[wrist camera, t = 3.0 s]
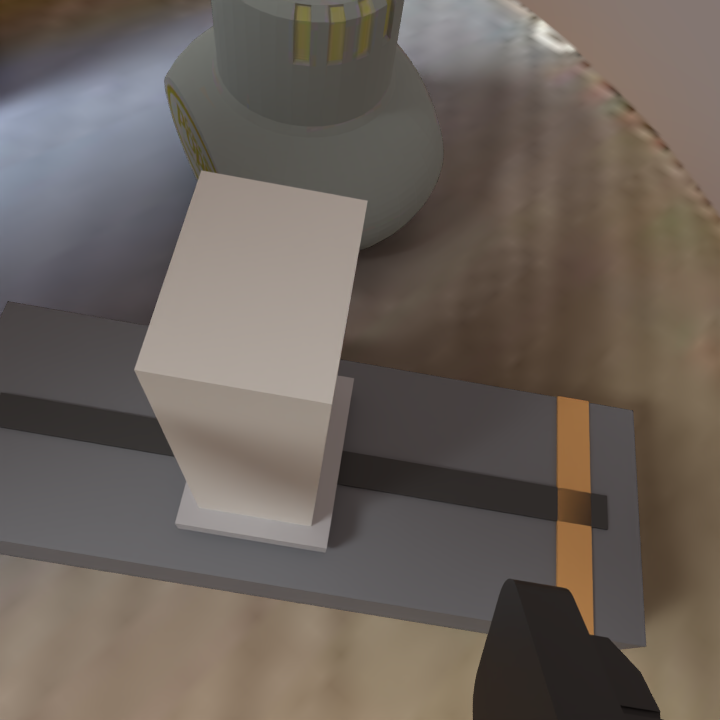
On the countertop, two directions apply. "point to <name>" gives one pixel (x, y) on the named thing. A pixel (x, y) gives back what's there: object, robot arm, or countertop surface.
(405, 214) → the air freshener
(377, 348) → the countertop surface
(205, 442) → the fader tab
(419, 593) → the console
